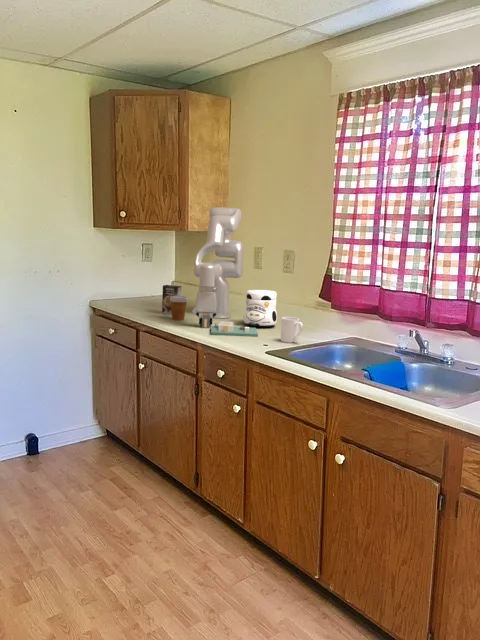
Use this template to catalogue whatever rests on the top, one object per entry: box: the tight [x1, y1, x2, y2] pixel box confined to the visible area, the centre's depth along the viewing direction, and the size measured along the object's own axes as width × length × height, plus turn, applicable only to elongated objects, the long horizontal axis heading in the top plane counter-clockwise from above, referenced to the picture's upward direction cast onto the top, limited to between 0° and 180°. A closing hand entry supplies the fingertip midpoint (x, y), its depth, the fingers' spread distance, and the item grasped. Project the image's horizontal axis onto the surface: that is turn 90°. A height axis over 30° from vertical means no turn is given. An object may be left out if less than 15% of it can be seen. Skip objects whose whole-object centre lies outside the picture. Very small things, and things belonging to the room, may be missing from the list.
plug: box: [201, 312, 210, 329], centre depth 280 cm, size 6×4×7 cm, turn 2°
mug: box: [280, 316, 304, 344], centre depth 254 cm, size 12×8×10 cm, turn 35°
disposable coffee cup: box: [170, 295, 188, 321], centre depth 298 cm, size 10×10×12 cm
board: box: [210, 321, 259, 338], centre depth 271 cm, size 16×22×4 cm
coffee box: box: [161, 284, 182, 316], centre depth 313 cm, size 9×6×16 cm
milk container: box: [243, 289, 278, 328], centre depth 290 cm, size 17×17×18 cm
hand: (205, 325), depth 281 cm, fingers open, 3 cm apart
